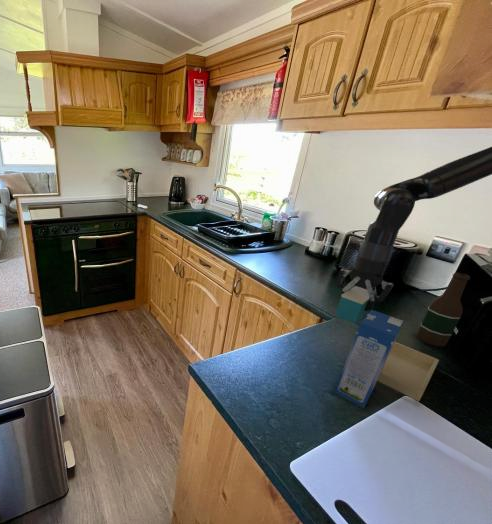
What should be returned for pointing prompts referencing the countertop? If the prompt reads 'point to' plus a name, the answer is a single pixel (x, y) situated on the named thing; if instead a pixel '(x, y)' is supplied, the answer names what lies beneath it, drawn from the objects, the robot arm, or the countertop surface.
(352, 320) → the white and teal box
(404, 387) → the crate
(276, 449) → the countertop surface
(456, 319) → the beer bottle
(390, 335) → the milk carton
